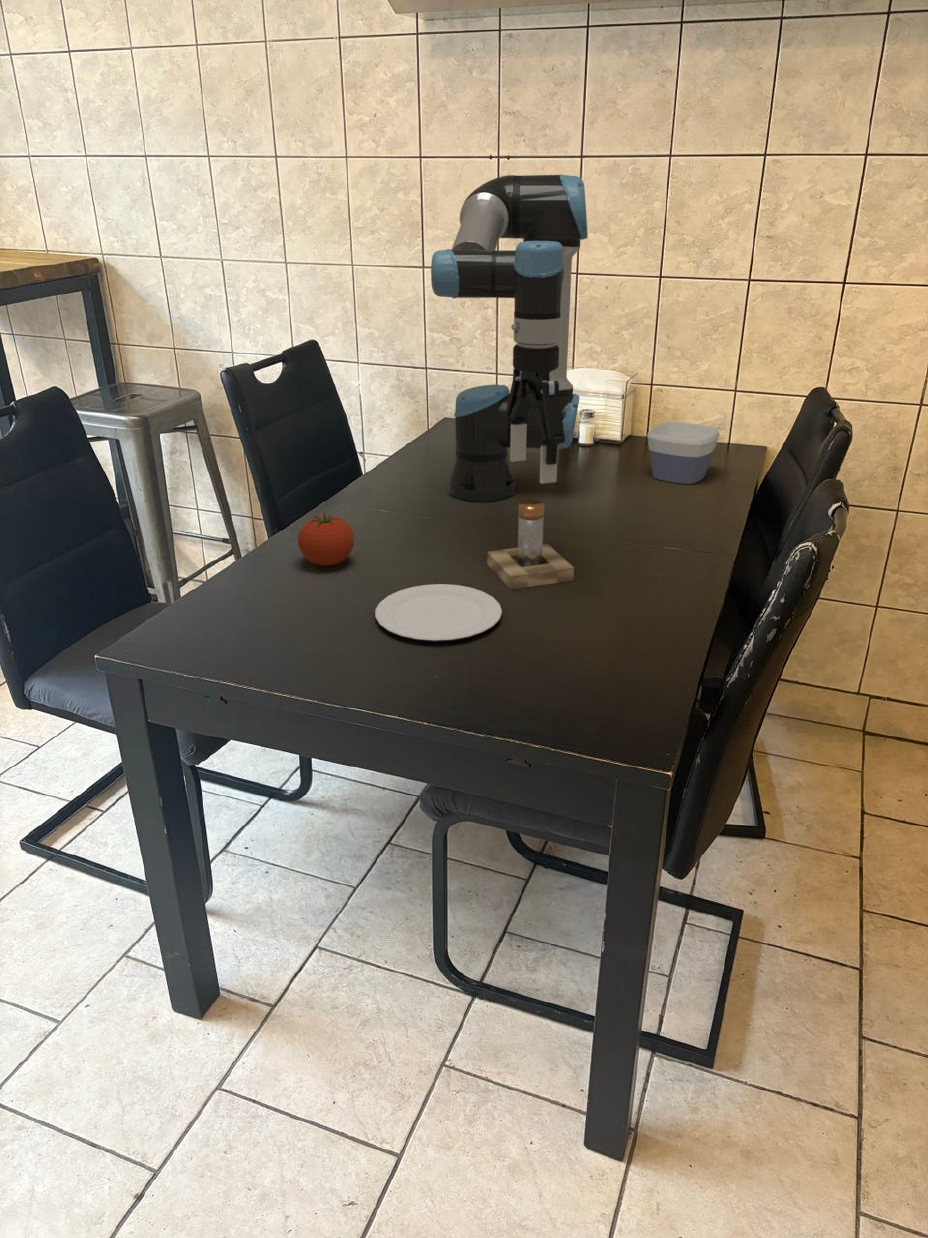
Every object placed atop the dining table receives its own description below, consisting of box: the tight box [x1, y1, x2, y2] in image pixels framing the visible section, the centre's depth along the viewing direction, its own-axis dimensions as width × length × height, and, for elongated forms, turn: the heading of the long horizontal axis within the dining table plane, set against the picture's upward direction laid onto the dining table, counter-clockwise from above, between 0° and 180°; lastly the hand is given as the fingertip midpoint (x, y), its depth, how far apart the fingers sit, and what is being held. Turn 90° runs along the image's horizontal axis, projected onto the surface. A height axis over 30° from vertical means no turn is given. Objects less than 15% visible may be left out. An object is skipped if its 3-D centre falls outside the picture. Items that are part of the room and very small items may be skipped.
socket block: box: [486, 543, 575, 590], centre depth 165 cm, size 12×12×2 cm
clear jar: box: [517, 499, 545, 567], centre depth 163 cm, size 4×4×13 cm
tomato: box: [297, 512, 355, 567], centre depth 168 cm, size 10×10×10 cm
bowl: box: [646, 421, 720, 485], centre depth 214 cm, size 15×15×11 cm
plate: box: [374, 583, 503, 643], centre depth 150 cm, size 21×21×2 cm
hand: (532, 471), depth 157 cm, fingers open, 13 cm apart
